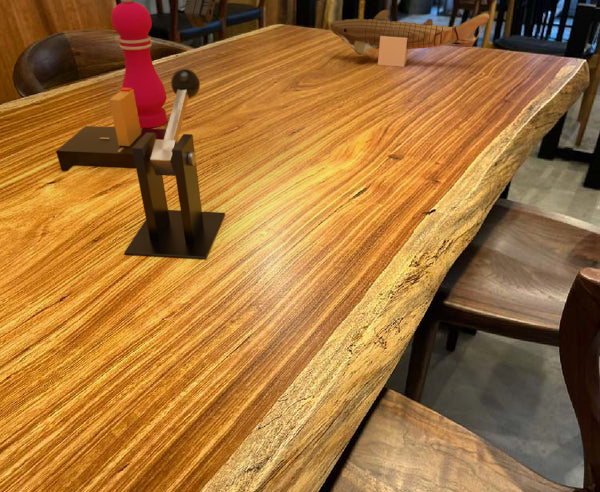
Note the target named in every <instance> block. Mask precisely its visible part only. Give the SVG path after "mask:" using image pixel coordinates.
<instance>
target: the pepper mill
mask: <svg viewBox="0 0 600 492" xmlns="http://www.w3.org/2000/svg"><path fill="white" fill-rule="evenodd" d="M110 16H111V17H110V21H111V25H112V28H113V30H114V31H115V32H116V33H117V34H118V35H119V37H118V43H119V47H120V49H122V51H123V55H124V63H125V66H124V68H125V69H124V71H125V72H124V76H123V81H122V85H121V89H122V88H132V89H133V90H134V96H135V101H136V107H137V113H138V118H139V124H140V128H148V129H154V128H158V127H161V126H163V125H165V124H166V123H167V121H168V118H167V112H166V109H165V108H164V105H165V104H166V102H167V91H166V88H165V86H164V84H163V82H162V80H161V78H160V76H159V75H158V72H157V71H156V68H155V66H154V64H153V60H152V56H151V47H152V46H153V44H152V42H151V40H152V37H151V36H150V35H149V32H150V31H151V29H152V25H153V23H152V17H151V14H150V12H149V10H148V9H147V8H146V7H145V6H144V5H142V4H141V3H139V2H136V1H134V0H122V2H120V3H119V4H116V5H115V7H114V8H113V9H112V11H111V15H110Z"/></svg>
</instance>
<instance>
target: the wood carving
mask: <svg viewBox="0 0 600 492" xmlns="http://www.w3.org/2000/svg"><path fill="white" fill-rule="evenodd" d="M390 11H391V10H390V9H383V10H381V11H379V12H378V13H377V14H376V15H375V16H374V17H373V18H369V19H365V18H363V19H362V18H353V19H352V18H351V19H349V18H347V19H338V20H333V21H331V22H330V24H329V27H330V30H331V32H332V33H333V34H334V35H335V36H337V37H340V39H341V41H343V42H345V43H346V44H347V45H348V46H349V47H350V48H351V49H353V51H355V53H357V54H358V55H360V56H361V55H364V54H366V53H367V52H368V53H369V52H371V49H377V50H378V59H377V65H378V66H387V67H398V68H399V67H400V68H401V67H402V68H404V67H405V65H406V63H407V61H408V54H409V50H415V49H416V50H417V49H430V48H437V47H442V46H443V47H445V46H446V47H456V48H471V47H472V46H474V44H475V42H476V41H477V40H478V38H479V36H480V35H481V34H482V32H483V31H484V29H485V27H486V25H487V24H488V22H489V19H490V14H489V13H481V14H478V15H477V16H474V17H472V18H470V19H468V20H466V21H464V22H463V23H460V24H458V25H455V26H445V25H444V26H443V25H438V24H434V21H433V19H431V18H429V19H426V21H424V22H423V23H416V22H407V21H402V22H401V21H395V20H394V21H393V20H390ZM479 26H481V29H480V31H479V33H478V34H477V36H475V33H476V30H477V29H478V27H479ZM455 43H457V44H455ZM369 50H370V51H369Z"/></svg>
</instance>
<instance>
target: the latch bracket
mask: <svg viewBox="0 0 600 492" xmlns="http://www.w3.org/2000/svg"><path fill="white" fill-rule="evenodd" d="M155 140H156V133H146V134H145V135H144V136H143V137H142V138H141V139H140V140H139V141H138V143H137V144H136V145H135V146H134V147H133V148H132V149H133V154H134V160H135V165H136V168H135V170H136V174H137V180H138V185H139V190H140V195H141V201H142V205H143V210H144V216H145V220H144V222H143V224H142V225H141V226H140V228H139V230H138V231H137V233H136V234H135V235H134V236H133V238H132V240H131V242H130V243H129V245H127V247H126V249H125V251H124V252H123V255H124V256H133V257H150V258H164V259H165V258H167V259H183V260H184V259H185V260H201V261H202V260H203V261H206V260H207V259H208V256H209V254H210V252H211V250H212V246H213V245H214V242H215V240H216V238H217V236H218V233H219V231H220V229H221V226H222V224H223V221H224V219H225V217H226V213H225V212H219V211H203V210H202V200H201V191H200V185H199V176H198V167H197V157H196V151H195V143H194V135H193V133H192V134H191V133H183V134H182V135H181V136H180V138H179V139H178V140H177V144H176V145H175V146H174V148H173V149H172V155H173V162H174V169H175V175H176V176H175V182H176V189H177V195H178V202H179V208H180V209H179V210H178V209H169V207H168V201H167V194H166V189H165V182H164V175H156V173H155V171H154V169H153V166H152V164H151V161H150V157H151V154H152V150H153V147H154V143H155Z"/></svg>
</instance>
